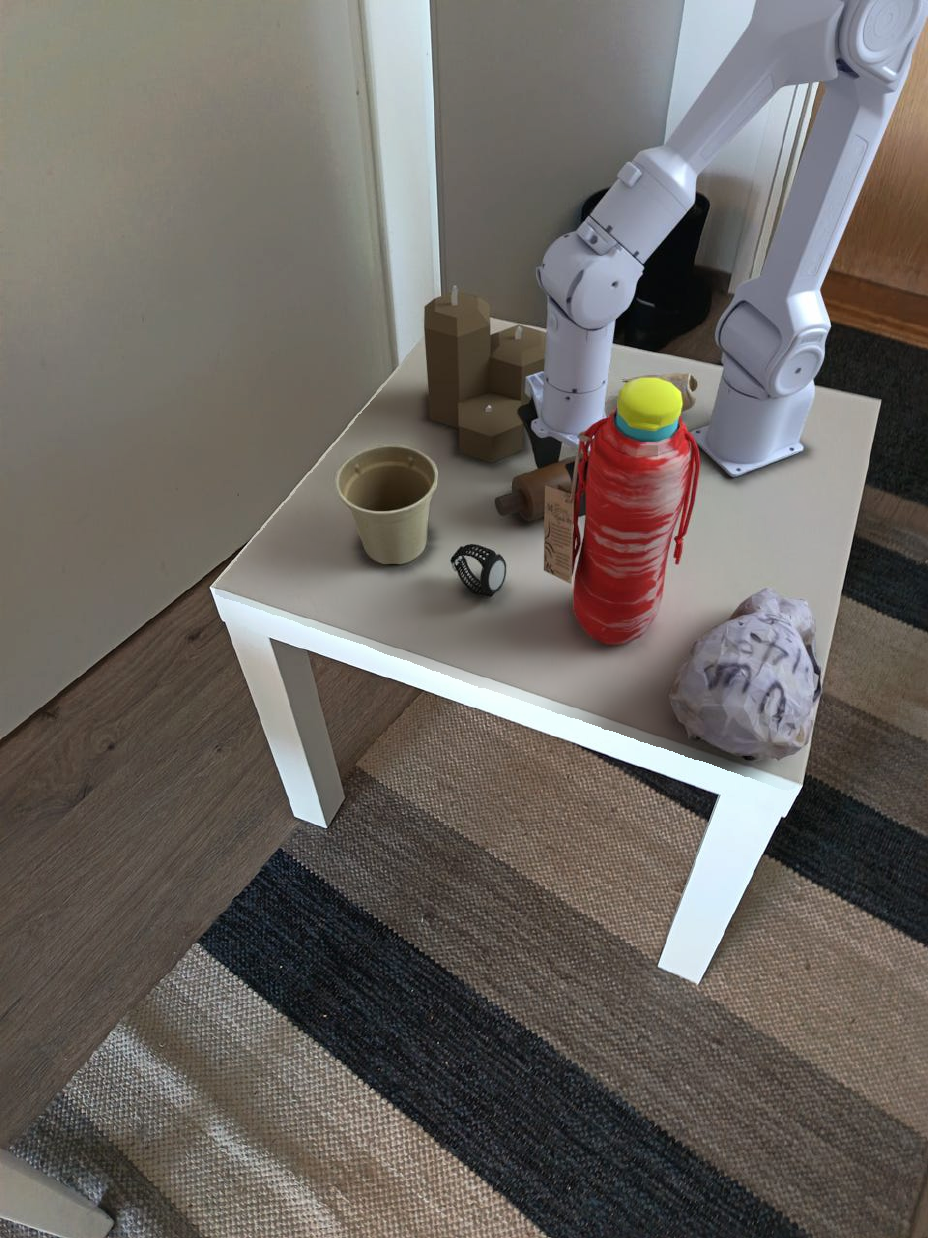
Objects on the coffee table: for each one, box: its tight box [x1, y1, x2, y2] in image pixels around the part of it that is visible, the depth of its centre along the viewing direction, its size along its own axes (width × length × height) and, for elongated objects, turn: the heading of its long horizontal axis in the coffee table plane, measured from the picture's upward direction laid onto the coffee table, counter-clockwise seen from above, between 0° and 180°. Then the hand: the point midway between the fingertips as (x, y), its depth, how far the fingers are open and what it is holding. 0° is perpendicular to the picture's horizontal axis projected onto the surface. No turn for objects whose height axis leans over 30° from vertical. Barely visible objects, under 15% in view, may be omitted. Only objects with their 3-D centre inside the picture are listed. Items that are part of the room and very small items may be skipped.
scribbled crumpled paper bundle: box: [668, 587, 824, 764], centre depth 69 cm, size 19×12×10 cm, turn 137°
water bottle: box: [543, 378, 701, 645], centre depth 69 cm, size 12×8×25 cm, turn 71°
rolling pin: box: [494, 453, 583, 522], centre depth 87 cm, size 15×5×5 cm, turn 116°
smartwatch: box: [449, 543, 507, 598], centre depth 79 cm, size 4×5×5 cm
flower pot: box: [334, 443, 439, 565], centre depth 82 cm, size 9×9×9 cm
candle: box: [423, 285, 546, 464], centre depth 92 cm, size 14×14×15 cm
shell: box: [621, 373, 698, 413], centre depth 96 cm, size 8×4×5 cm, turn 84°
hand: (565, 488), depth 87 cm, fingers open, 7 cm apart
